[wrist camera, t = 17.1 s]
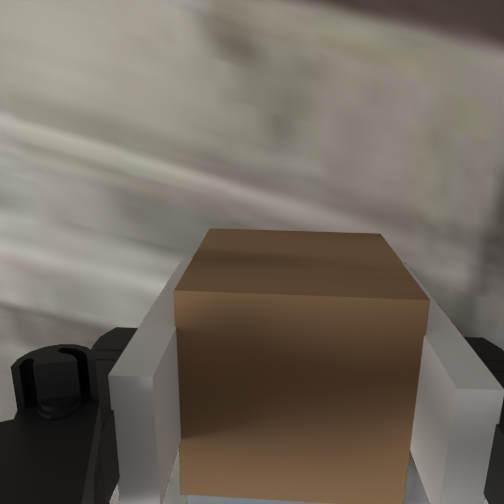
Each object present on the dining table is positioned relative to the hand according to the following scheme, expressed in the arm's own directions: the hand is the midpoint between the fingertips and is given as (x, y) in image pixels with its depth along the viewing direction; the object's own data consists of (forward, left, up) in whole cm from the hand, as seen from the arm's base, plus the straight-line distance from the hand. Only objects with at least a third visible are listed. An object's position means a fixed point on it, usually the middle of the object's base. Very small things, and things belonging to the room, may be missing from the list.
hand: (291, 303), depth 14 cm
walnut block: (0, 0, 0) cm, 1 cm away
